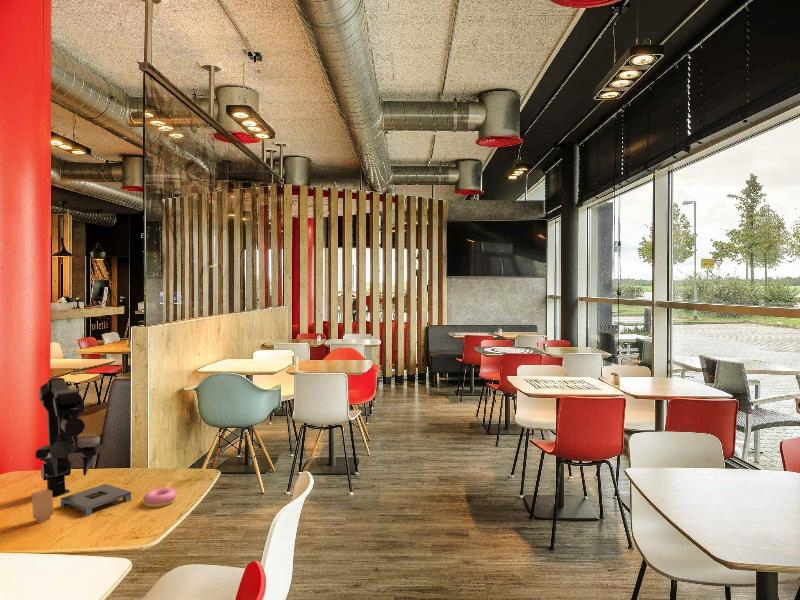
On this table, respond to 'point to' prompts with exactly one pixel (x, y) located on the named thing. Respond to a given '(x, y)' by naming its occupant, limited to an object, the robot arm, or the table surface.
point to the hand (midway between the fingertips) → (70, 476)
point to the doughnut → (159, 497)
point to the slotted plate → (87, 504)
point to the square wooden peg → (42, 505)
